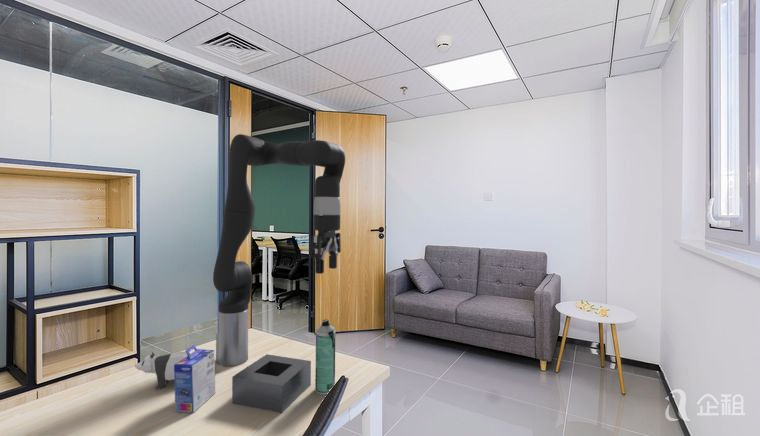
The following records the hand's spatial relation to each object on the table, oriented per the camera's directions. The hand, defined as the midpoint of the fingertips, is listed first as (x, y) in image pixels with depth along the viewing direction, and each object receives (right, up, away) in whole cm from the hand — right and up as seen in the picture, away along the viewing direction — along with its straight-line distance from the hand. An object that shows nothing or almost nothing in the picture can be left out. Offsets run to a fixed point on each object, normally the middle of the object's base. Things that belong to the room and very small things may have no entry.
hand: (326, 270), depth 97 cm
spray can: (0, -34, +1) cm, 34 cm away
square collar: (-14, -34, -2) cm, 37 cm away
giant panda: (-47, -34, +3) cm, 58 cm away
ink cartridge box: (-34, -34, -6) cm, 48 cm away
